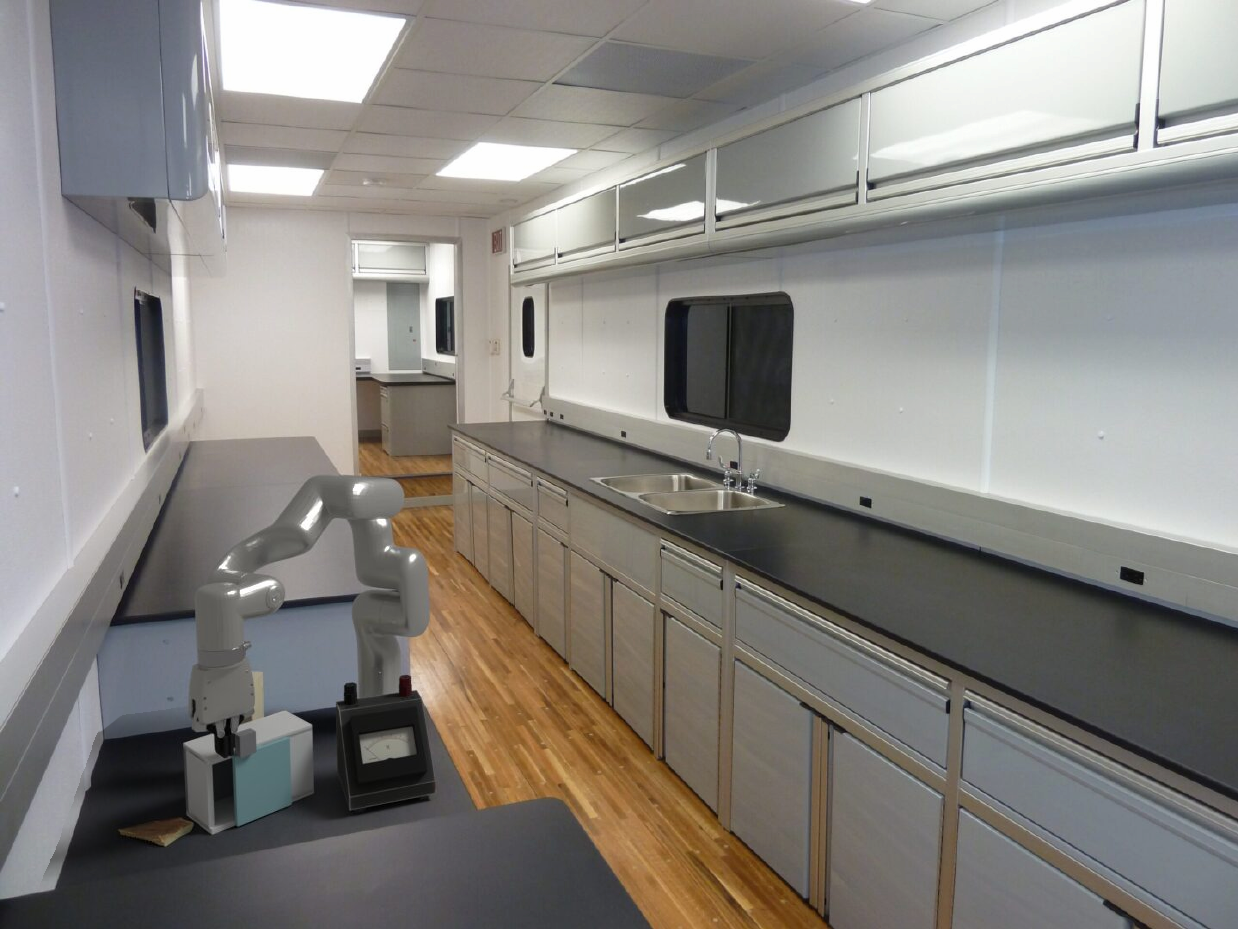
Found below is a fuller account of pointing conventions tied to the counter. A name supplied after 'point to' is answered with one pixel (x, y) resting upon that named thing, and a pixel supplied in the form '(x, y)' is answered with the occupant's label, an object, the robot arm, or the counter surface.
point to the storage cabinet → (214, 773)
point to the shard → (159, 830)
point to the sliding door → (260, 776)
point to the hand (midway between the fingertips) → (225, 754)
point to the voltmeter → (383, 747)
